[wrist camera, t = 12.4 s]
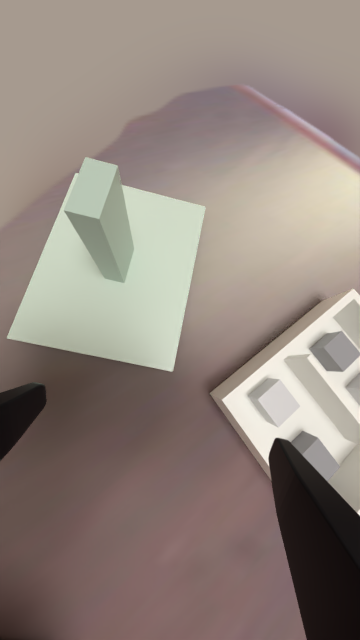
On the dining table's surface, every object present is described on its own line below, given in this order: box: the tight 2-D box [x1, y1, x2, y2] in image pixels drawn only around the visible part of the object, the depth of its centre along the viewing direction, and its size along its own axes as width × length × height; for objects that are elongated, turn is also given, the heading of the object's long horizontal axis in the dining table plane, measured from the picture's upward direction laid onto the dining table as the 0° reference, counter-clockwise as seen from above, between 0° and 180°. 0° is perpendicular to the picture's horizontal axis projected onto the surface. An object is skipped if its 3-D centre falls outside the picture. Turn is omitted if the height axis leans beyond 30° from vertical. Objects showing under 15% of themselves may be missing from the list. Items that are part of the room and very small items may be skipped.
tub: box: [209, 289, 360, 516], centre depth 19 cm, size 14×18×4 cm
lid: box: [7, 157, 205, 372], centre depth 17 cm, size 15×19×11 cm
